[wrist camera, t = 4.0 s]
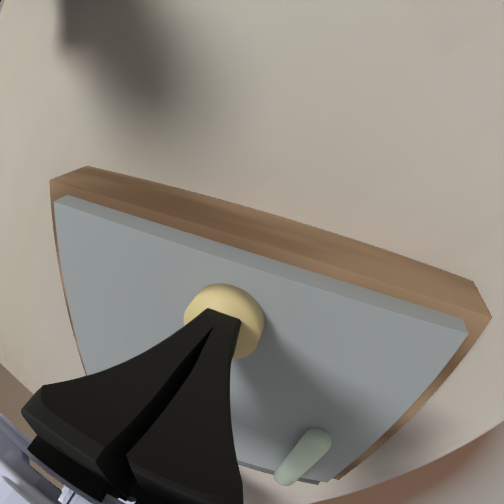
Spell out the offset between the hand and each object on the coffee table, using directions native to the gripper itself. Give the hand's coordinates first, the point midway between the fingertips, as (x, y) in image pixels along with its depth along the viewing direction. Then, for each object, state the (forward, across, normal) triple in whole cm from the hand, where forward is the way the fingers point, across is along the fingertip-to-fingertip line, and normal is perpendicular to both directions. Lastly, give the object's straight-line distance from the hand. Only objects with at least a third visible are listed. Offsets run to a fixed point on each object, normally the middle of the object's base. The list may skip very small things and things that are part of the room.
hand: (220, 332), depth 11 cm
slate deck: (+2, 0, +6) cm, 6 cm away
